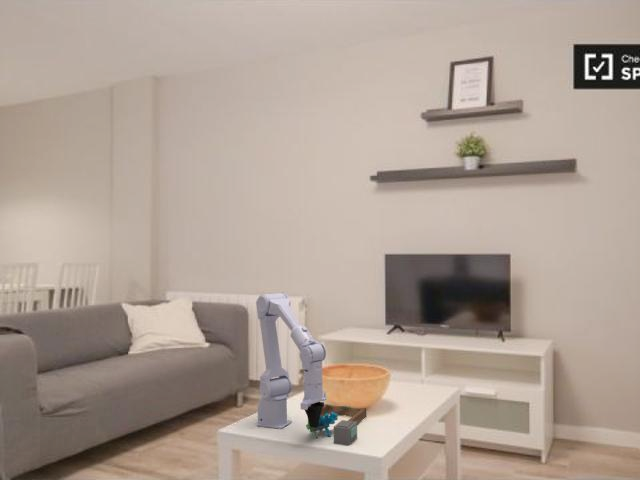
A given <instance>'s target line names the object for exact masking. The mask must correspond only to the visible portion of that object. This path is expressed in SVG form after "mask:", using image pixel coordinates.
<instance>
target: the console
mask: <svg viewBox="0 0 640 480" xmlns="http://www.w3.org/2000/svg"><path fill="white" fill-rule="evenodd" d="M356 439H358V425H357V422H354V421H348V420H344V419H341V420H340V421H339V422H337V424H335V425H333V444H335V445H336V444H337V445H342V446H350V445H351V444H353V443H354V442H355V440H356Z"/></svg>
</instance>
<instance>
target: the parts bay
mask: <svg viewBox="0 0 640 480" xmlns="http://www.w3.org/2000/svg"><path fill="white" fill-rule="evenodd" d="M341 405H342V404H341ZM341 405H336V404H327V403H326V404H325V403H324V407H323V409H322V411H321V414H320V416H321V417H325V416H324V414H326V413H328V415H330V413H331V412H334V414H335V413H337V415H338V416H342V415H346V416H345V417H350V418H349V419H348V420H347V421H354V422H357V426H358V425H359V424H361V422H363V421H364V420H365V419H366V418H367V408H365V407H355V406H350V405H343V406H341ZM351 416H353V417H351ZM365 417H366V418H365ZM364 418H365V419H364ZM363 419H364V420H363ZM362 420H363V421H362ZM307 424H309V420H308V419H307Z"/></svg>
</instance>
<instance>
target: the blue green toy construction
mask: <svg viewBox="0 0 640 480" xmlns="http://www.w3.org/2000/svg"><path fill="white" fill-rule="evenodd" d="M338 417H339V415H337V413H335V414H334V412H331V413H330V414H328V413H326V414H324V417H321V416H320V419H319V424H318V427H316V428H314V427H310V424H308V423H307V424H306V425H305V427H306V429H307V430H309V432H310V433H312V436H313V437H314V439H317V438H318V437H317V434H316V432H317V431H320V432H321V431H323V430H325V433H326V435H327V437H331V436H332V434H331V431H330V430H329V429H330V425H334V424H335V423H336V421H337V420H338V419H339V418H338Z"/></svg>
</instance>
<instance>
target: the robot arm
mask: <svg viewBox="0 0 640 480" xmlns="http://www.w3.org/2000/svg"><path fill="white" fill-rule="evenodd" d="M255 304H256V314H257V318H258V320H259V324H260V325H259V327H260V332H261V334H260V335H261V340H262V341H261V342H262V347H263V348H262V349H263V355H264V356H263V357H264V363H265V370H264V372H263V373H262V374H261V376H259V381H260V383H259V392H260V395H261V397H260V398H259V400H258V402H257V424H256V426H257V427H266V428H272V429H283V428H284V427H287V426H288V425H289V424H291V423H292V421H293V420H290V419H288V405H287V403H288V398H289V396H290V395H289V394H291V392H292V388H293V384H292V381H291V379H290V375H289V372H288V371H287V370H286V369H284V368H283V366H282V360H281V354H280V353H281V352H280V346H279V338H278V332H277V331H278V329H277V324H276V323H277V320H278V318H281V320H282V322H284V324H285V325H286V326H287V327H288V329H289V330H290V331H291V332H290V338H291V340H292V341H293V343H294V344H295V346H296V347H297V349H298V350H299V359H300V361H301V367H302V369H303V388H304V389H303V392H304V393H303V398H302V400H301V402H300V410H303V411H304V412H305V414H306V417H307V421H308V420H309V424H310V427H314V428H316V427H318V424H319V419H320V414H321V411H322V409H323V407H324V405H325V401H326V400H327V397H326V395H327V394H326V391H323V361H324V360H325V359H326V356H327V351H326V347H325V346H324V344H323V343H322V342H319V341H318V340H316V339H315V338H314V337H313V336H312V334H311V333H310V331H309V330H308V327H307V326H305V325H301V324H300V322H299V320H298V318H297V317H296V314H295V312H294V311H293V310H292V308H291V304H292V303H291V298H289V296H288V294H287V293H286V292H279V293H267V294H265V293H261V294H260V295H259V296H258V298H257V299H256V301H255Z"/></svg>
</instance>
